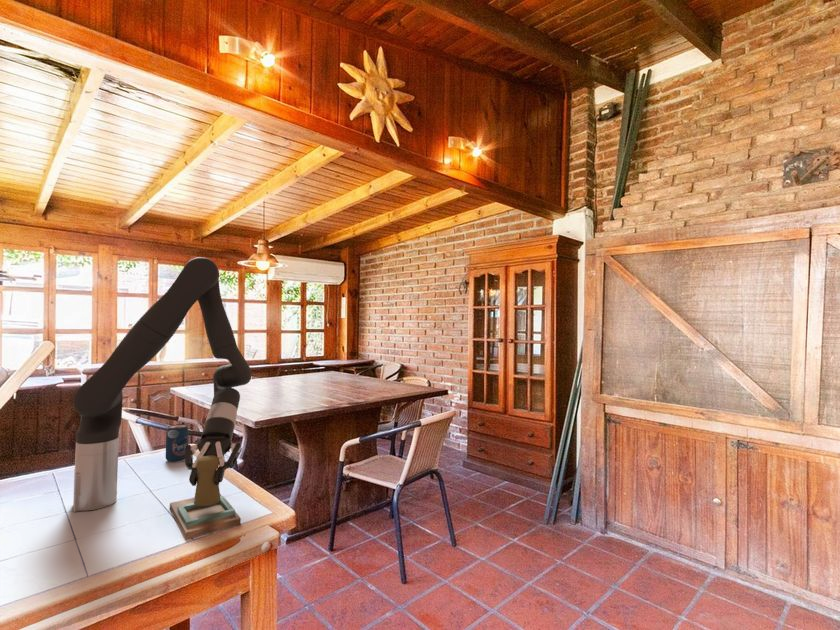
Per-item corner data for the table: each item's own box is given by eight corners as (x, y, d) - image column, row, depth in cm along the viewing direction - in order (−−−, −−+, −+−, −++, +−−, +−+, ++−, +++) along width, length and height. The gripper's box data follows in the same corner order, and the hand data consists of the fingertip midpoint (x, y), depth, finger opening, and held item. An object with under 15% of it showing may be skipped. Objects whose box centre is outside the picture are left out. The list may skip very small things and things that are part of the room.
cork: (213, 506, 104) (213, 460, 104) (188, 505, 104) (189, 460, 104) (224, 495, 110) (225, 453, 110) (201, 495, 110) (202, 452, 110)
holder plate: (185, 539, 97) (186, 527, 97) (169, 508, 112) (170, 498, 112) (240, 524, 104) (240, 513, 104) (218, 497, 120) (218, 487, 120)
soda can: (175, 464, 146) (176, 429, 147) (160, 461, 149) (161, 427, 149) (192, 458, 153) (193, 424, 153) (178, 455, 155) (179, 422, 156)
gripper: (189, 416, 113) (169, 478, 101) (245, 415, 116) (232, 475, 104) (195, 431, 118) (177, 492, 106) (249, 429, 121) (238, 489, 109)
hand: (205, 483), depth 105 cm, fingers closed on cork, 4 cm apart
